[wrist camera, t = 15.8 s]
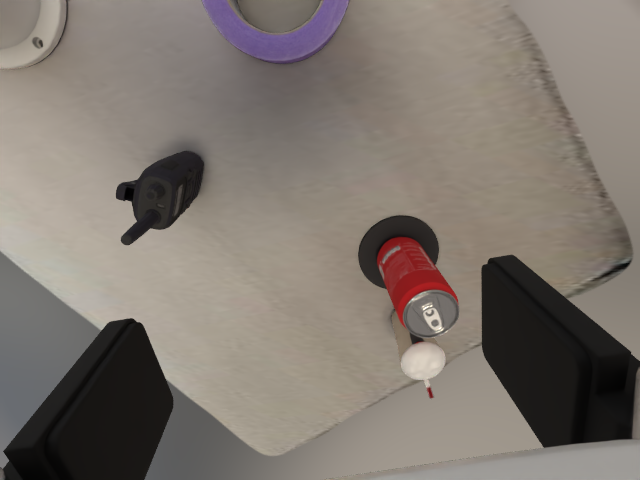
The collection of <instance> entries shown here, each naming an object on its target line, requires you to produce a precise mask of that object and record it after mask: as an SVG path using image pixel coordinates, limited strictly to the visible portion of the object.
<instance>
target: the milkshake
mask: <svg viewBox="0 0 640 480" xmlns="http://www.w3.org/2000/svg"><path fill="white" fill-rule="evenodd" d="M391 318H392V324H393V329H394V333H395V337H396V341H397V345H398V352H399V357H400V362H401V367H402V370H403V372H404V373H405V374H406V375H408V376H409V377H411V378H412V379H416V380H424V382H425V386H426V388H427V392H428V395H429V398H430V399H431V398H434V395H433V392H432V390H431V386H430V383H429V380H428V379H429V378H432V377H435V376H436V375H438V374H439V373H440V371H441V370H442V369H443V367H444V365H445V354H444V351H443V350H442V349H441V347H440V346H439V344H438V343H437V341H436V340H435V339H434V338H421V337H418V336H415V335H413V334H412V333H410V332H409V331H408V330H407V329H406V328H405V327H404V326H403V325H402V324H401V322H400V320H399V318H398V315H397V313H396V310H395V311H394V312H393V314H392V315H391Z"/></svg>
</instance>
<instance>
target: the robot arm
mask: <svg viewBox="0 0 640 480" xmlns="http://www.w3.org/2000/svg"><path fill="white" fill-rule="evenodd" d="M65 21H66V0H0V69H19V68H24V67H29V66H31V65H33V64H36V63H38V62H40V61H41V60H43V59H44V58H45V57H46V56H48V55H49V54H50V53H51V52H52V50H53V49H54V48H55V47H56V45H57V44H58V42H59V40H60V37H61V35H62V33H63V30H64V25H65ZM42 42H43V45H42ZM482 349H483V353H484V356H485V358H486V360H487V362H488V363H489V365H490V366H491V368H492V369H493V371H494V372H495V374H496V375H497V377H498V379H499V380H500V382H501V383H502V385H503V386H504V388H505V389H506V390H507V392H508V394H509V395H510V397H511V398H512V400H513V401H514V403H515V404H516V406H517V407H518V409H519V410H520V412H521V414H522V415H523V416H524V418H525V420H526V421H527V422H528V424H529V426H530V427H531V429H532V430H533V432H534V433H535V435H536V436H537V438H538V439H539V441H540V442H541V444H542V445H543V447H544V448H540V449H533V450H524V451H517V452H509V453H501V454H493V455H487V456H480V457H473V458H466V459H459V460H452V461H446V462H439V463H432V464H425V465H418V466H411V467H404V468H398V469H391V470H384V471H377V472H370V473H364V474H357V475H351V476H344V477H337V478H331V479H325V480H640V361H639V360H637V359H636V358H635V357H634V356H633V355H631V352H630V351H629V350H628V349H627V348H626V347H624V346H623V345H622V344H621V343H619V342H618V341H617V340H616V339H615V338H613V337H612V336H611V335H610V334H609V333H607V332H606V331H605V330H603V328H601V327H600V326H599V325H598V324H597V323H595V322H594V321H593V320H592V319H590V318H589V317H588V316H587V315H586V314H584V313H583V312H582V311H581V310H579V309H578V308H577V307H576V306H575V305H573V304H572V303H571V302H570V301H569V300H567V299H566V298H565V297H564V296H563V295H561V294H560V293H559V292H558V291H556V290H555V289H554V288H553V287H552V286H550V285H549V284H548V283H547V282H546V281H544V280H543V279H542V278H541V277H539V276H538V275H537V274H536V273H535V272H533V271H532V270H531V269H530V268H529V267H527V266H526V265H525V264H524V263H523V262H521V261H520V260H519V259H518V258H516V257H515V256H514V255H507V256H501V257H495V258H490V259H489V260H488V264H486V265H483V266H482ZM172 409H173V396H172V394H171V391H170V389H169V386H168V384H167V381H166V379H165V377H164V374H163V372H162V369H161V367H160V365H159V362H158V360H157V357H156V355H155V352H154V350H153V348H152V345H151V343H150V340H149V338H148V336H147V333H146V331H145V328H144V326H143V325H142V324H141V323H140V322H136V321H135V320H134V319H132V318H130V319H124V320H118V321H112V322H109V323H108V324H107V325H106V326H105V327H104V329H103V330H102V331H101V332H100V333H99V335H98V336H97V337H96V338H95V340H94V341H93V342H92V343H91V345H90V346H89V347H88V348H87V349H86V351H85V352H84V353H83V354H82V356H81V357H80V358H79V359H78V360H77V362H76V363H75V364H74V365H73V367H72V368H71V369H70V370H69V372H68V373H67V374H66V375H65V376H64V378H63V379H62V380H61V381H60V383H59V384H58V385H57V386H56V387H55V389H54V390H53V391H52V392H51V394H50V395H49V396H48V397H47V398H46V400H45V401H44V402H43V403H42V405H41V406H40V407H39V408H38V410H37V411H36V412H35V413H34V414H33V416H32V417H31V418H30V420H29V421H28V422H27V423H26V424H25V425H24V427H23V428H22V429H21V430H20V432H19V433H18V434H17V435H16V436H15V438H14V439H13V440H12V441H11V443H10V444H9V445H8V446H7V448H6V449H5V450H4V451H3V452H4V453H5V455H6V456H7V458H8V459H9V462H8V463H7V465H6V466H5V467H4V468H3V469H2V468H1V467H0V480H144V479H145V476H146V474H147V472H148V469H149V466H150V464H151V462H152V459H153V457H154V454H155V452H156V449H157V447H158V444H159V442H160V439H161V437H162V434H163V432H164V429H165V427H166V424H167V422H168V419H169V417H170V414H171V412H172Z"/></svg>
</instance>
